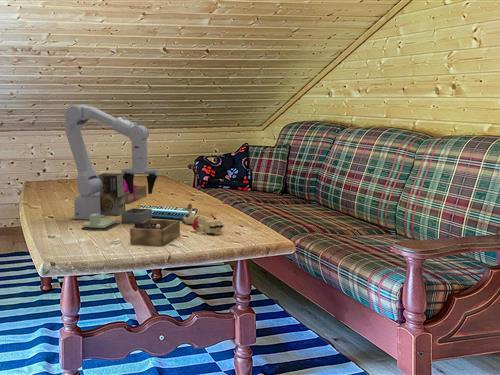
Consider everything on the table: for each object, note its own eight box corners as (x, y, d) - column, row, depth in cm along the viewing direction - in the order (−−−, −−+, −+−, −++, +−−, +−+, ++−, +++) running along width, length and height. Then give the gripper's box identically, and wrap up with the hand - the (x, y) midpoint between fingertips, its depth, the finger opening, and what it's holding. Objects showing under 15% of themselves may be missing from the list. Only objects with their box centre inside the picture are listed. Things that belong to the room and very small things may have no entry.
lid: (81, 228, 220) (81, 215, 219) (96, 222, 230) (95, 209, 230) (104, 229, 218) (103, 216, 217) (117, 223, 228) (117, 210, 228)
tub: (121, 223, 230) (121, 212, 229) (132, 218, 240) (132, 208, 239) (141, 224, 228) (141, 213, 228) (151, 218, 238) (151, 208, 237)
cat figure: (176, 228, 229) (205, 235, 207) (175, 204, 228) (204, 210, 206) (201, 225, 234) (231, 232, 212) (199, 202, 233) (230, 207, 211)
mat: (81, 229, 221) (81, 227, 221) (95, 222, 231) (95, 221, 231) (107, 230, 219) (107, 229, 218) (120, 223, 229) (120, 222, 229)
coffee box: (126, 212, 251) (124, 173, 249) (118, 215, 245) (117, 175, 242) (105, 211, 253) (104, 172, 251) (98, 214, 247) (96, 174, 245)
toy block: (115, 196, 288) (114, 181, 286) (128, 196, 290) (128, 180, 289) (121, 202, 274) (120, 185, 273) (135, 201, 276) (134, 184, 275)
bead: (134, 219, 235) (133, 212, 234) (137, 217, 237) (136, 210, 237) (140, 219, 234) (140, 212, 234) (143, 218, 237) (143, 210, 236)
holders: (121, 248, 193) (120, 233, 192) (99, 196, 290) (98, 186, 290) (188, 243, 199) (188, 228, 198) (144, 194, 297) (144, 183, 296)
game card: (133, 222, 200) (160, 223, 199) (138, 224, 205) (164, 225, 204) (132, 243, 199) (159, 244, 197) (137, 244, 204) (163, 245, 202)
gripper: (117, 158, 230) (118, 194, 232) (153, 159, 227) (154, 195, 229) (125, 156, 237) (126, 191, 239) (160, 157, 233) (161, 192, 235)
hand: (140, 193), depth 234 cm, fingers open, 7 cm apart
